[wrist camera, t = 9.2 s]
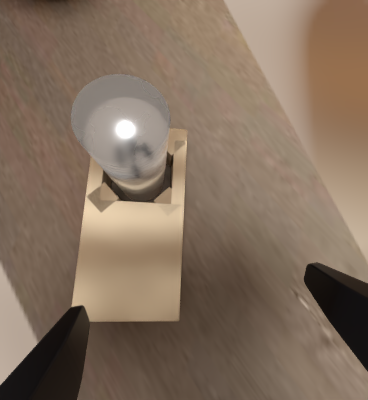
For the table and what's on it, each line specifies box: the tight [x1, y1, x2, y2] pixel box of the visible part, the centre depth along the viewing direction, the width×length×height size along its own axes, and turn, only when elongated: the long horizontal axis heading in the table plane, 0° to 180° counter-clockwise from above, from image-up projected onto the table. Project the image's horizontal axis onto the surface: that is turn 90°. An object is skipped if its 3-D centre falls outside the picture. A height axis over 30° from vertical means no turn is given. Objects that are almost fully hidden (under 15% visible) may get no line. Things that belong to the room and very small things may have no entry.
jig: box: [72, 128, 187, 322], centre depth 18 cm, size 16×8×3 cm, turn 177°
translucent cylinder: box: [71, 74, 170, 201], centre depth 14 cm, size 4×4×11 cm
